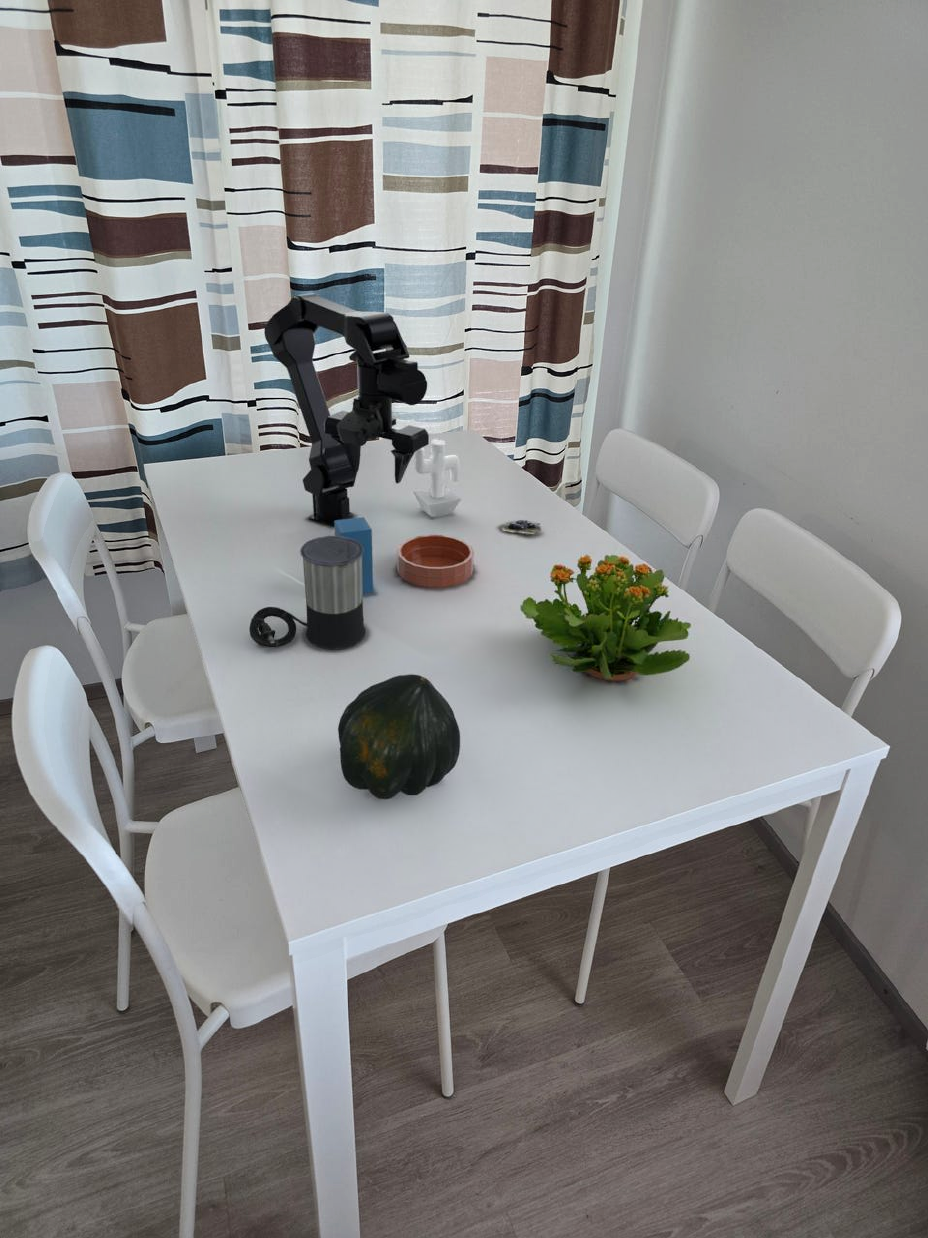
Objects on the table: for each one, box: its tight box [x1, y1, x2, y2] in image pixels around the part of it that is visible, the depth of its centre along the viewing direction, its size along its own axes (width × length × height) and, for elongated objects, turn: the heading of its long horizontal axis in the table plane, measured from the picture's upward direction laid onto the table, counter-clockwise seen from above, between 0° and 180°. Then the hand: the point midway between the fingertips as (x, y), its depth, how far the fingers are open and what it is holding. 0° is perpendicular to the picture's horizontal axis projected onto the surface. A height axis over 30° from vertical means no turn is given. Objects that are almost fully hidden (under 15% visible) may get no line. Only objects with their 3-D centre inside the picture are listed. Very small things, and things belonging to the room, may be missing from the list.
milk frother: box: [248, 535, 367, 650], centre depth 128 cm, size 14×16×15 cm
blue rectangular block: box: [334, 516, 374, 595], centre depth 142 cm, size 5×5×12 cm
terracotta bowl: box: [396, 534, 475, 589], centre depth 151 cm, size 13×13×4 cm
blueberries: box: [500, 519, 542, 536], centre depth 167 cm, size 7×8×2 cm
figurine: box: [412, 438, 462, 518], centre depth 170 cm, size 7×9×15 cm
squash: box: [337, 674, 461, 800], centre depth 102 cm, size 14×15×15 cm
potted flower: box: [520, 554, 692, 682], centre depth 123 cm, size 25×24×18 cm
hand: (376, 477), depth 154 cm, fingers open, 9 cm apart
